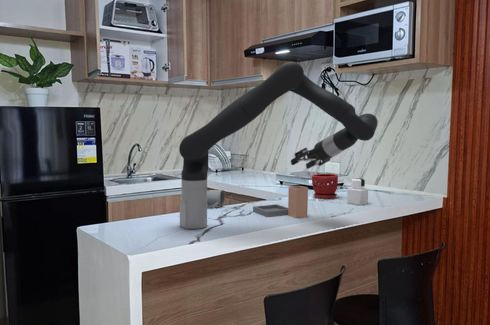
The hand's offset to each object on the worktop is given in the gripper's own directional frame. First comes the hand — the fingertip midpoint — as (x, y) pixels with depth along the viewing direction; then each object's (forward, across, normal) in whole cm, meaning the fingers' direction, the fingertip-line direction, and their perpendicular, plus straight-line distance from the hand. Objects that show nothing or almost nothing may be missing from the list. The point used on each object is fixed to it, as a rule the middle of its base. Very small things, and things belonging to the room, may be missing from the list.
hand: (299, 164), depth 170 cm
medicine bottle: (+11, -48, +7) cm, 50 cm away
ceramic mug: (+46, +10, +3) cm, 47 cm away
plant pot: (+28, -48, -3) cm, 56 cm away
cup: (+12, -6, +17) cm, 22 cm away
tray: (+22, -2, +13) cm, 25 cm away
